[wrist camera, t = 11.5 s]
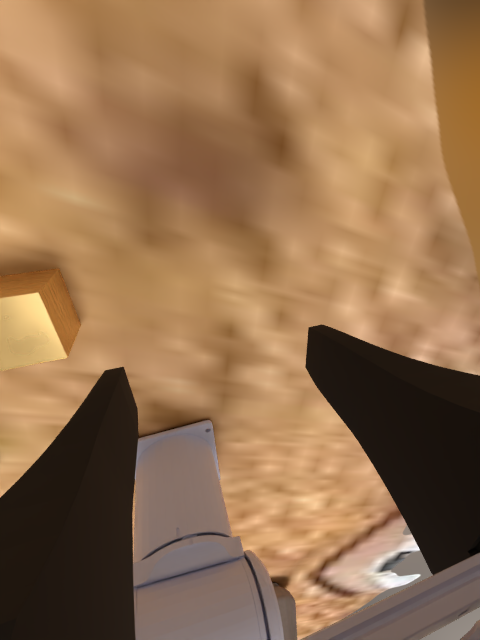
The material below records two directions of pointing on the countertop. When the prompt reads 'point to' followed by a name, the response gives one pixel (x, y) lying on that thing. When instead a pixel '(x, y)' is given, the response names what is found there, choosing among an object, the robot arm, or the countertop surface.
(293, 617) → the coffee pot
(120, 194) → the countertop surface
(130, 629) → the robot arm
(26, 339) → the brushed gold cube
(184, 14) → the countertop surface
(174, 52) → the countertop surface
